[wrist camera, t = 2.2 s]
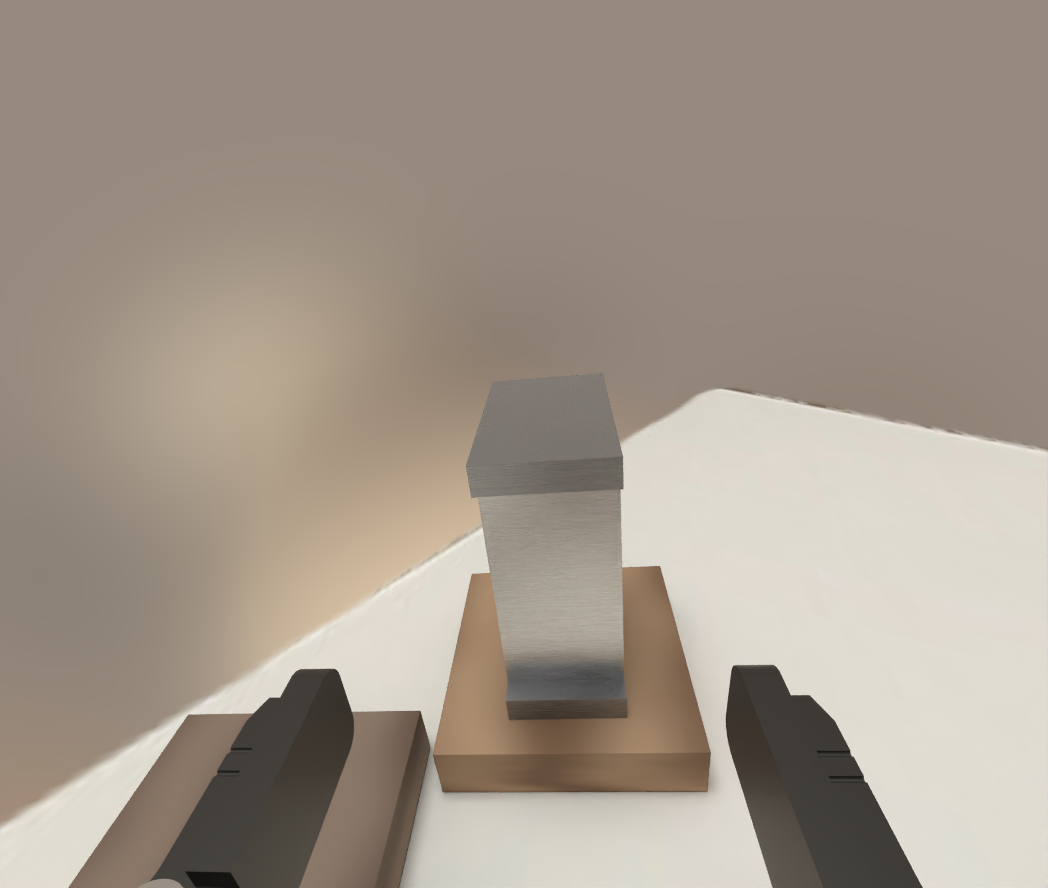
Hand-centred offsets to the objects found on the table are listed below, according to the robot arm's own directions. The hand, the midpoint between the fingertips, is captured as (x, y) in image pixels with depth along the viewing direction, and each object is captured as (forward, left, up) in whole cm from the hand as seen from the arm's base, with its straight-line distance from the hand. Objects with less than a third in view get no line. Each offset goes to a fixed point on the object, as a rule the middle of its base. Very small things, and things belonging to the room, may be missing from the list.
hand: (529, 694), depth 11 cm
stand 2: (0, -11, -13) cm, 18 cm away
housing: (0, -11, -11) cm, 16 cm away
